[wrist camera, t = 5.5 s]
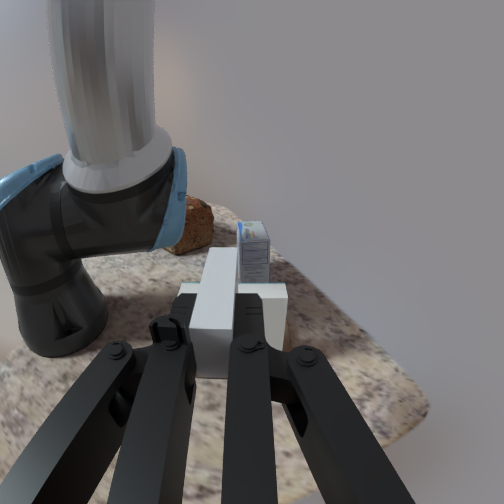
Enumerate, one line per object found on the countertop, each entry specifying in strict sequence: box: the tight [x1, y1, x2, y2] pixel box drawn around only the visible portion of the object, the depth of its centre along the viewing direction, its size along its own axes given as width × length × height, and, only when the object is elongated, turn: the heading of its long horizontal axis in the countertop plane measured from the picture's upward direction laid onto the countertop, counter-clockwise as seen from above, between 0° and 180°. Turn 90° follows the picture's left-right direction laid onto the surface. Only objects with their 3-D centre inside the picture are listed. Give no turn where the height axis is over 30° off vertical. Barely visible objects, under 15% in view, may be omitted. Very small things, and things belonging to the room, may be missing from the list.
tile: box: [177, 282, 288, 351], centre depth 28 cm, size 10×2×9 cm, turn 91°
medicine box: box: [237, 221, 270, 283], centre depth 45 cm, size 8×4×9 cm, turn 7°
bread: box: [163, 195, 214, 254], centre depth 60 cm, size 19×11×10 cm, turn 43°
